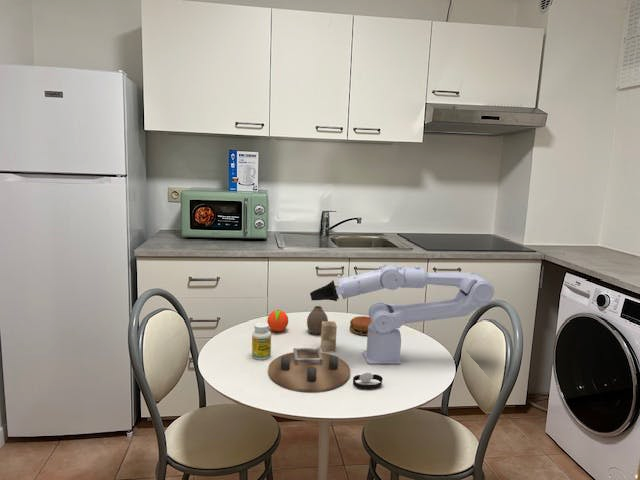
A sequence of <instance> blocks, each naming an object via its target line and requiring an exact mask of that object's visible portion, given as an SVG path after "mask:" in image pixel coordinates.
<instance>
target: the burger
mask: <svg viewBox="0 0 640 480" xmlns="http://www.w3.org/2000/svg"><path fill="white" fill-rule="evenodd" d="M370 323H371V318H370V316H365V315H364V316H363V315H361V316H360V315H359V316H355V317H353V318H351V320H350V323H349V324H350V325H349V331H350V332H351V333H352V334H355V335H362V336H368V326H369V324H370Z"/></svg>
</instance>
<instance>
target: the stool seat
mask: <svg viewBox="0 0 640 480" xmlns="http://www.w3.org/2000/svg"><path fill="white" fill-rule="evenodd" d="M292 350H293V352H287V353H285V354H282V355H280V356H278V357H276V358H274V359H273V360H272V361H270V363H269V364H268V368H267V370H268V371H267V372H268V377H269V379H270V380H271V381H272V382H273V383H274V384H276V385H277V386H280V387H282V388H284V389H287V390H290V391H293V392H294V391H295V392H300V393H322V392H323V393H324V392H329V391H332V390H335V389H338V388H340V387H342V386H343V385H345V384H346V383H348V381H349V379H350V378H351V377H350V376H351V369H350V366H349V365H348V363H347V362H346V361H345V360H343V359H342V358H340V357H338V356H336V355H332V354H330V353H327V352H322V350H321V347H302V348H301V347H294V348H293V349H292Z"/></svg>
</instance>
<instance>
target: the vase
mask: <svg viewBox="0 0 640 480" xmlns="http://www.w3.org/2000/svg"><path fill="white" fill-rule="evenodd" d="M322 321H329V318H328V315H327V314H326V312H325V311H324V309H323V307H322V306H320V305H316V306H314V307H313V309H312V310H311V311H310V313H309V314H308V315H307V320H306V325H307V326H306V327H307V329H308V331H309V333H311V334H312V335H319V336H321V328H322Z"/></svg>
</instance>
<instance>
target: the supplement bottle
mask: <svg viewBox="0 0 640 480" xmlns="http://www.w3.org/2000/svg"><path fill="white" fill-rule="evenodd" d="M269 329H270V327H269V324H268V322H264V321H263V322H257V323H254V331H253V332H252V334H251V357H252V358H254V359H255V360H259V361H262V360H263V361H265V360H268V359H270V357H271V356H272V355H271V352H272V349H271V348H272V332H271V330H269Z"/></svg>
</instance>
